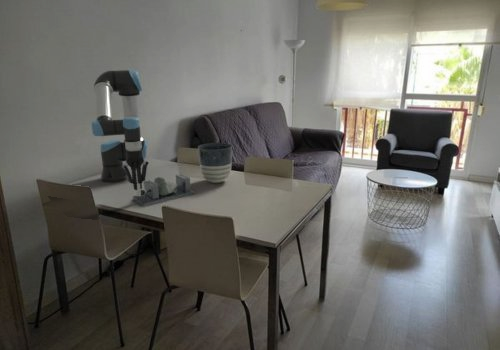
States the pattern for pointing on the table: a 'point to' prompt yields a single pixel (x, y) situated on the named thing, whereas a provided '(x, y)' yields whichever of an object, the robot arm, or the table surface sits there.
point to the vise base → (181, 191)
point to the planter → (215, 161)
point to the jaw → (150, 190)
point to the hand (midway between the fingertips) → (138, 195)
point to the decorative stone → (165, 186)
